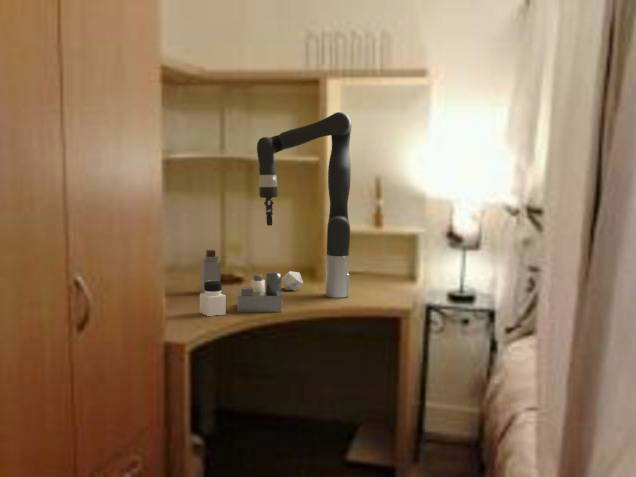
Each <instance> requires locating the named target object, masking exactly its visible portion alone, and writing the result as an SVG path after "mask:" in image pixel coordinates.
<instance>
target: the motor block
mask: <svg viewBox="0 0 636 477" xmlns="http://www.w3.org/2000/svg"><path fill="white" fill-rule="evenodd" d="M236 294H237V295H236V296H237V297H236V299H237V300H236V303H237V304H236V310H237V311H236V312H237V313H282V298H283V297H282V272H279V271H268V272H265V293H253V288H252V287H251V286H249V287H248V286H247V287H246V286H243V287H241V292H237V293H236Z"/></svg>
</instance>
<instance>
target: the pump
mask: <svg viewBox="0 0 636 477" xmlns="http://www.w3.org/2000/svg"><path fill="white" fill-rule="evenodd" d="M250 287H252V288H253V293H266V279H263V274H261V273H260V274H256V273H255V274H254V275H253V279H251V280H250Z"/></svg>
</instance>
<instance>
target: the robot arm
mask: <svg viewBox="0 0 636 477" xmlns="http://www.w3.org/2000/svg"><path fill="white" fill-rule="evenodd" d="M352 128H353V127H352V120H351V118H350V116H349V115H348V114H347V113H345V112H342V111H340V112H334V113H333V114H331V115H329V116H327V117H325V118H323V119H321V120H319V121H316V122H313V123H311V124H307V125H304V126H299V127H296V128H293V129H289V130H286V131H283V132H281V133H280V134H278V135H274V136H270V137H267V136H263V137H261V138H260V139H259V140H258V141H257V145H256V153H257V154H256V155H257V159H258V168H259V169H258V170H259V174H258V176H259V178H258V185H259V186H258V190H259V191H258V192H259V193H258V194H259V195H258V196H259V198H263V199H265V200H264V203H263V206H264V212H265V216H266V218H265V219H266V226H268V227H270V226H273V213H274V206H275V205H274V201H273V198H278V194H279V193H278V177H277V164H276V161H275V158H274V157H275V155H274V154H276V153H279V152H282V151H284V150H287V149H291V148H295V147H298V146H302V145H304V144H306V143H309V142H311V141H313V140H314V141H315V140H316V139H320V138H323V137H328V136H330V137H331V139H330V140H331V150H330V156H329V163H328V168H327V183H328V185H327V186H328V198H329V203H330V204H329V213H328V214H329V215H328V222H327V228H326V229H327V230H326V231H327V232H326V234H327V235H326V261H325V262H326V265H325V266H326V268H325V296H326V297H329V298H334V299H335V298H337V299H339V298H349V297H350V295H349V294H350V274H349V265H350V264H349V261H350V260H349V258H350V257H349V256H350V240H351V226H350V221H349V211H348V209H349V208H348V207H349V206H348V203H349V196H350V190H351V189H350V188H351V179H352V178H351V176H352V174H351V172H352V170H351V156H350V155H351V154H350V142H351V134H352V133H351V132H352Z"/></svg>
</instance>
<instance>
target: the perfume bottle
mask: <svg viewBox="0 0 636 477" xmlns="http://www.w3.org/2000/svg"><path fill="white" fill-rule="evenodd" d="M202 257H203V260H200V294H202V293H205V292H204V283H205V282H206V281H209V280H217V281H220V282H221V273H222V272H221V270H222V269H221V267H222V264H221V261H219V256H218V255H216V250H215V249H206V250H205V254H203V255H202Z"/></svg>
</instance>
